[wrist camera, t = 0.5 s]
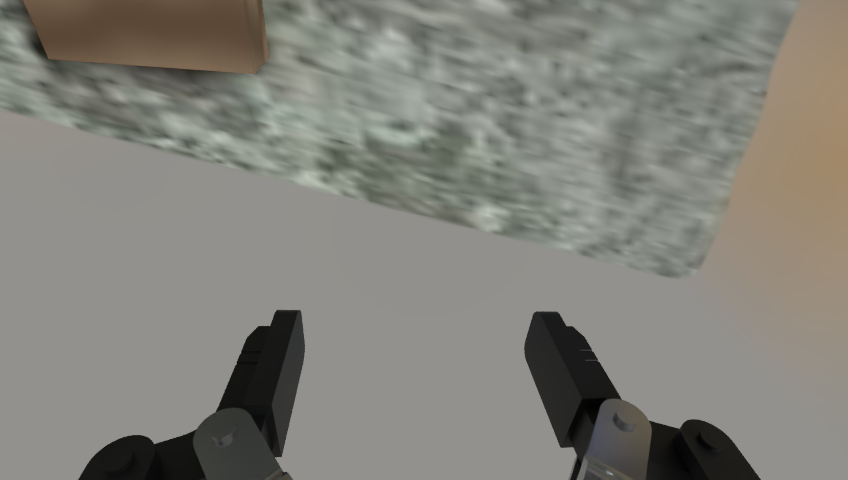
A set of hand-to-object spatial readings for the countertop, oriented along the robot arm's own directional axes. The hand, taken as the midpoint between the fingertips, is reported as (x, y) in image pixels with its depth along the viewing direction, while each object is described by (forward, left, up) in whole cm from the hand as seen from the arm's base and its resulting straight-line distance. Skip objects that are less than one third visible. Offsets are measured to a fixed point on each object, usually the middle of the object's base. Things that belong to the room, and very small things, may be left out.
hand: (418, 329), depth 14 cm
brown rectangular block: (-6, -14, -21) cm, 26 cm away
